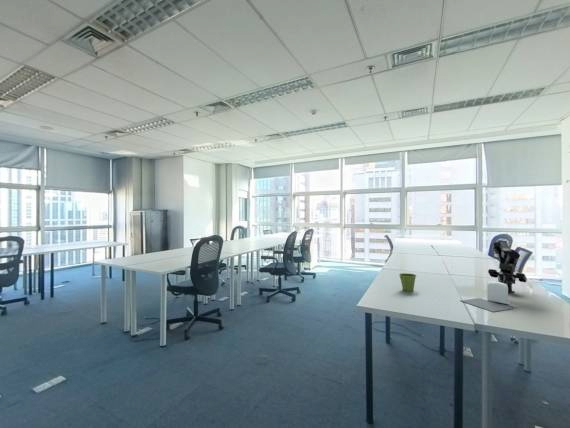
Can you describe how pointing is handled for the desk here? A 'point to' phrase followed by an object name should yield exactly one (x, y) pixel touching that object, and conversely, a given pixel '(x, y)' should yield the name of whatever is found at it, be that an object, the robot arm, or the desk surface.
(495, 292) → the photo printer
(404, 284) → the plant pot
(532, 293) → the desk surface
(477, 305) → the mat
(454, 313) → the desk surface
